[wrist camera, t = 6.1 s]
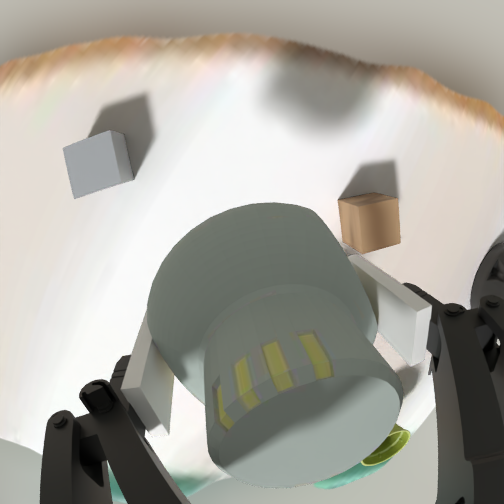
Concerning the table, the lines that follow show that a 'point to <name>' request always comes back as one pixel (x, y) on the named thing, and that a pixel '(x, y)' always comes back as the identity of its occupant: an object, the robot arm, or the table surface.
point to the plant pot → (388, 446)
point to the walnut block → (369, 221)
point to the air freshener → (274, 345)
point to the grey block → (98, 163)
